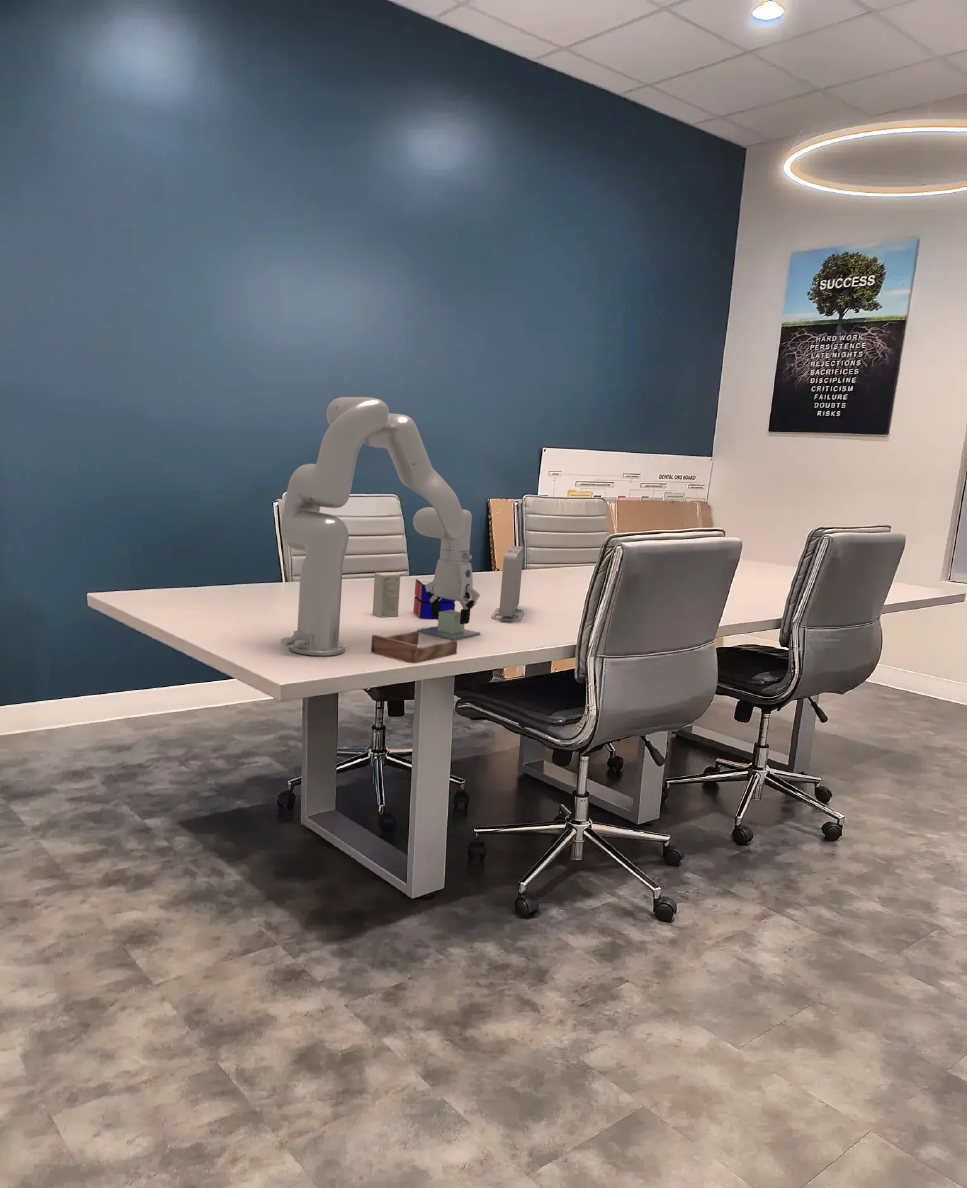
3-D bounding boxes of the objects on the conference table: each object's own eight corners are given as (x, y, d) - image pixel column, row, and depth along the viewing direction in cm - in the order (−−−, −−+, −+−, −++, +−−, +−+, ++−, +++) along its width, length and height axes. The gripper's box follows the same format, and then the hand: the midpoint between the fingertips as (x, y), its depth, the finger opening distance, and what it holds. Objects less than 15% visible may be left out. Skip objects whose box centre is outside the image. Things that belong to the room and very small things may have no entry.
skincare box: (391, 613, 265) (393, 572, 263) (398, 616, 262) (401, 574, 260) (371, 614, 262) (374, 572, 260) (379, 617, 258) (381, 574, 256)
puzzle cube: (420, 619, 261) (422, 584, 259) (413, 612, 270) (415, 578, 269) (454, 620, 263) (456, 585, 262) (446, 613, 273) (448, 580, 271)
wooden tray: (413, 662, 208) (414, 645, 207) (371, 652, 215) (372, 635, 215) (456, 653, 221) (457, 637, 220) (414, 643, 228) (415, 627, 228)
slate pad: (452, 640, 235) (453, 638, 235) (416, 632, 242) (416, 629, 242) (480, 634, 245) (480, 632, 245) (444, 627, 252) (444, 624, 252)
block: (452, 633, 241) (453, 614, 240) (437, 630, 244) (438, 611, 243) (463, 631, 245) (465, 613, 244) (449, 628, 248) (450, 609, 247)
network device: (519, 624, 264) (525, 555, 261) (488, 621, 265) (494, 552, 262) (525, 610, 289) (531, 546, 286) (498, 607, 290) (503, 544, 287)
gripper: (489, 560, 239) (484, 624, 241) (437, 551, 248) (433, 613, 251) (472, 561, 232) (467, 627, 235) (419, 552, 242) (415, 616, 245)
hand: (449, 620), depth 243 cm, fingers open, 9 cm apart
